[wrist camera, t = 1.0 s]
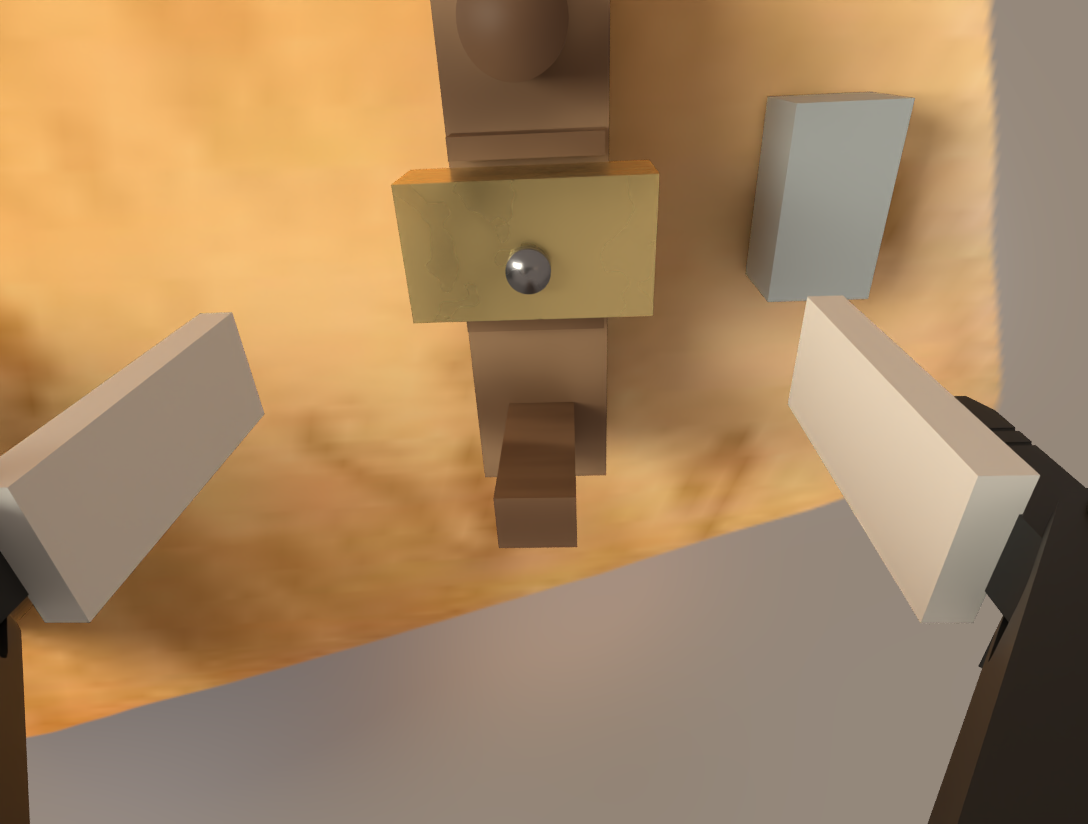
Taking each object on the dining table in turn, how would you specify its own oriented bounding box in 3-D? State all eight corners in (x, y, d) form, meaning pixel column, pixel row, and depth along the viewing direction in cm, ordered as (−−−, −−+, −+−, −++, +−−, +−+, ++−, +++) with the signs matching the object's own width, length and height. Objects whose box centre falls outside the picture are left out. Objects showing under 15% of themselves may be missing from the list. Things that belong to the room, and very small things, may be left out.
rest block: (745, 273, 31) (767, 301, 28) (767, 96, 27) (797, 103, 24) (834, 271, 31) (867, 298, 27) (870, 91, 27) (914, 97, 23)
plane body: (603, 427, 36) (620, 598, 25) (494, 429, 36) (462, 599, 25) (606, -98, 24) (642, -227, 13) (443, -87, 24) (337, -205, 13)
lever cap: (644, 288, 25) (654, 322, 22) (428, 295, 26) (409, 329, 23) (649, 159, 23) (661, 177, 20) (410, 169, 23) (386, 188, 20)
